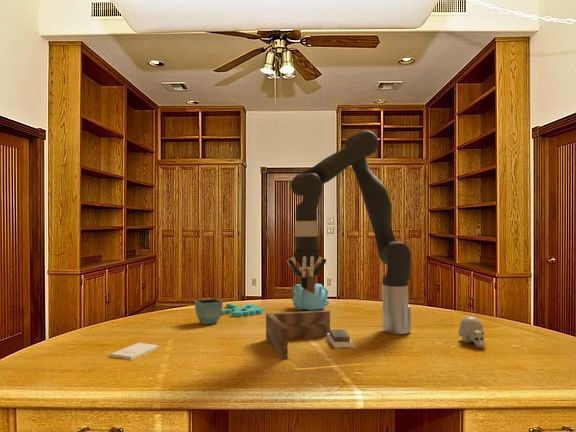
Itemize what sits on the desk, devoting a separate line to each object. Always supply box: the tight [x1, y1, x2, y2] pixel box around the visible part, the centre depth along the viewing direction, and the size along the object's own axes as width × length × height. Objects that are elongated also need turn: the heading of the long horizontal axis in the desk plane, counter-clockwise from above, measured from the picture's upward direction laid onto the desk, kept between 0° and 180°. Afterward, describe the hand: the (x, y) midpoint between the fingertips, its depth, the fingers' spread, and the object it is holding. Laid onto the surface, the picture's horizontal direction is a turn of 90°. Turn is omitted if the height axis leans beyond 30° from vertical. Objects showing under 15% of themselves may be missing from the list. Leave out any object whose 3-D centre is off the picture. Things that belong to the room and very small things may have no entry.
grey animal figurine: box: [457, 315, 485, 349], centre depth 140 cm, size 7×12×8 cm, turn 178°
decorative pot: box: [291, 283, 330, 311], centre depth 199 cm, size 16×16×14 cm
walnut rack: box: [265, 309, 331, 360], centre depth 138 cm, size 22×22×9 cm
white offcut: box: [326, 333, 354, 349], centre depth 141 cm, size 6×12×2 cm, turn 7°
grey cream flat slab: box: [322, 336, 358, 350], centre depth 140 cm, size 7×14×2 cm, turn 12°
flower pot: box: [194, 298, 224, 326], centre depth 170 cm, size 9×9×9 cm
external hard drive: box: [109, 342, 159, 361], centre depth 131 cm, size 2×8×12 cm
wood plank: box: [298, 274, 318, 294], centre depth 138 cm, size 15×2×5 cm, turn 17°
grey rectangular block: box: [330, 328, 351, 342], centre depth 140 cm, size 5×10×2 cm, turn 2°
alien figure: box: [221, 303, 266, 318], centre depth 193 cm, size 20×2×20 cm
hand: (306, 288), depth 137 cm, fingers closed on wood plank, 1 cm apart
